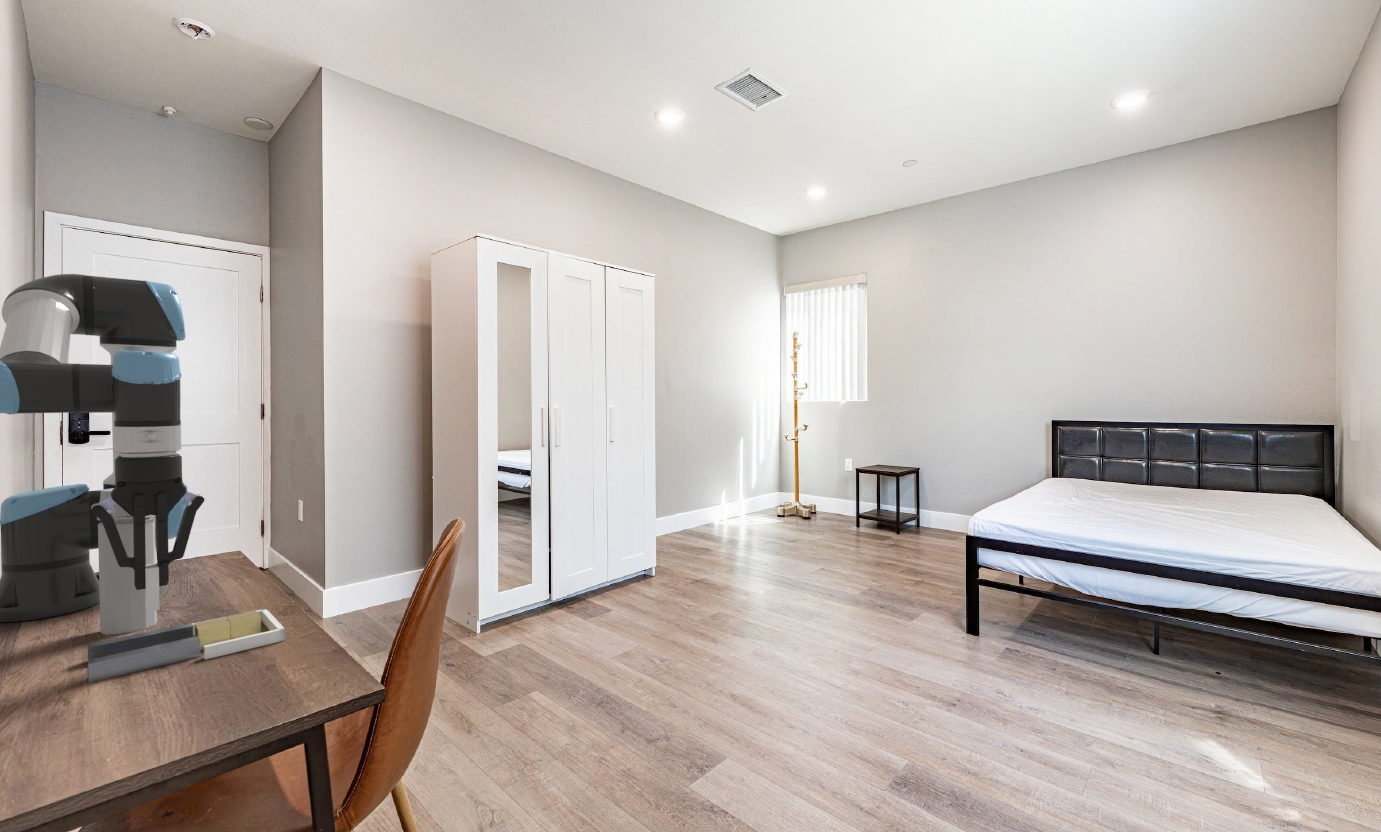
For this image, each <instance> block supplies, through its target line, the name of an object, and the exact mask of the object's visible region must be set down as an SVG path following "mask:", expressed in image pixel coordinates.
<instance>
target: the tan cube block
mask: <svg viewBox="0 0 1381 832" xmlns="http://www.w3.org/2000/svg"><path fill="white" fill-rule="evenodd" d="M222 617H223V618H222ZM222 617H219V619H217V618H213V619H214V620H212V619H208V620H209V621H207V620H204V622H203V621H198V622H199V623H198V622H194V623H195V636H194V637H196V636H199V638H200V651H204V646H205V645H210V644H214V643H219V642H223V641H227V640H230V622H229V621H228V619H227V618H226V617H227V616H222Z"/></svg>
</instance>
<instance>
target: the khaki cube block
mask: <svg viewBox="0 0 1381 832" xmlns="http://www.w3.org/2000/svg"><path fill="white" fill-rule="evenodd" d="M251 611H252V610H251ZM251 611H248V612H247V611H246V612H242V613H237V614H233V615H232V614H231V615H228V617H227V616H225V617H226V618H227V619H228V621H229V622H230V640H232V639H236V638H241V637H245V636H249V635H254V634H258V633H262V621H261V616H260V615H259V614H258V613H257V611H256V610H253V611H252V612H251Z"/></svg>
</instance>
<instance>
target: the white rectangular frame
mask: <svg viewBox="0 0 1381 832" xmlns="http://www.w3.org/2000/svg"><path fill="white" fill-rule="evenodd" d="M255 611H257V613H258V614H259V615H260V616H261V623H263V625H265V627H266V628H267V629H268V631H263V632H261V633H258V634H254V635H249V636H245V637H241V638H236V639H232V640H227V641H223V642H219V643H214V644H210V645H205V646H204V650H203V658H204V660H209V659H214V658H217V657H221V656H226V655H230V654H234V653H239V652H242V651H246V650H247V651H248V650H250V649H254V648H255V649H256V648H260V647H264V646H267V645H271V644H275V643H279V642H280V643H281V642H284V641H286V628H285V627H284V626H283V625H282V624H281V622H279V621H278V620H277V618H276V617H275V616H274V615H273V614H272V613H271V612H270V611H269V610H268V608H262V609H257V610H255ZM250 612H252V610H251V611H250ZM228 616H229V615H228ZM228 616H226V617H228ZM223 617H224V616H222V617H221V618H223ZM219 618H220V617H219ZM219 618H218V617H217V618H216V619H219ZM214 619H215V618H212V619H211V620H214ZM209 620H210V619H207V620H206V621H209ZM204 621H205V620H204ZM204 621H202V622H204ZM199 622H200V621H198V622H197V623H199ZM195 623H196V622H194V623H192V625H193V637H195Z"/></svg>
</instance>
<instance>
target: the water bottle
mask: <svg viewBox="0 0 1381 832" xmlns="http://www.w3.org/2000/svg"><path fill="white" fill-rule="evenodd" d="M113 489H114V488H110V489H104V490H103V489H100V490H101V494H100V502H102V501H104V500H105V499H107V498H109V497H111V492H112V490H113ZM114 509H115V511H114V513H112V514H111V515H112V517H113V519H114V521H115V524H116V527H117V529H118V532H119V535H120V538H121V540H122V543H123V546H124V548H125V551H126V554H127V556H128V557H133V558H134V546H133V516H131V515H129V514H128V513H127V512H126V511H125V510H124V509H122V508H121V507H120V506H119V505H118V504H117V503H115V504H114ZM97 520H100V519H99V518H98V517H97ZM155 522H156V518H155V515H148V516H145V547H146V565H149V564H156V563H157V550H156V523H155ZM97 549H98V581H99V591H100V602H99V623H100V625H99V627H100V628H99V629H100V631H99V632H100V633H101V634H103V635H107V636H108V635H120V634H128V633H133V632H134V633H135V632H137V631H141V630H144V629H147V628H149V627H151V626H153V625H154V626H155V625H156V623H157V622H158V613H157V612H158V610H154V611H149V612H146V609H145V589H141V590H137V589H136V588H135V585H134V569H133V568H130V567H120V566H119V565H118V563H117V560H116V557H115V555H114V552H113V550H112V547H111V544H110V542H109V539H108V536H107V534H106V531H105V528H104V526H103V523H102V522H101V523H99V524H98V548H97ZM164 590H165V586H159V598H160V597H162V596H163V595H164Z"/></svg>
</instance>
